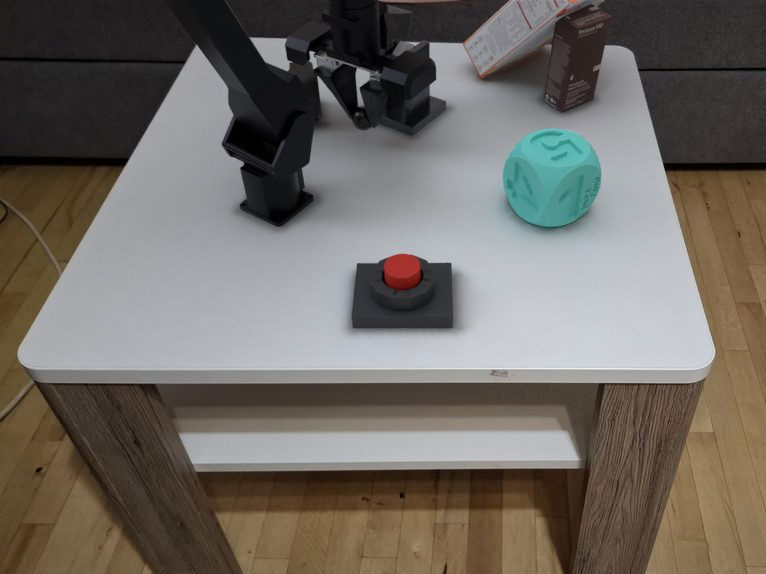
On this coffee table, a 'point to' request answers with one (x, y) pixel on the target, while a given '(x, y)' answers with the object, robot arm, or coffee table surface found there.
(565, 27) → the box
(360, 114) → the lever
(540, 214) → the decorative dice
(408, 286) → the button
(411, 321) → the control block
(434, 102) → the bracket
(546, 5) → the cracker box
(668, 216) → the coffee table surface
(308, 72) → the dark grey block
